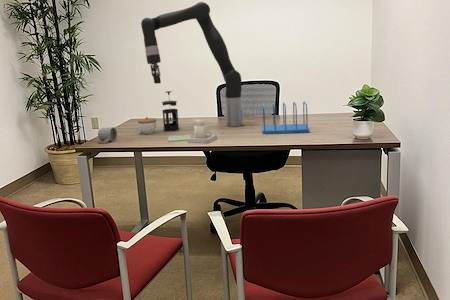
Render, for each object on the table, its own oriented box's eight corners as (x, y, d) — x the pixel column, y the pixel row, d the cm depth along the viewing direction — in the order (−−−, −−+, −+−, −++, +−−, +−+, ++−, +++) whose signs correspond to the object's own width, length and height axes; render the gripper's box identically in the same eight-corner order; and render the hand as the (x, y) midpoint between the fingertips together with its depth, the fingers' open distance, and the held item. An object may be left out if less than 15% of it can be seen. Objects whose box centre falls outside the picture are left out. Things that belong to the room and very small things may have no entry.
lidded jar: (148, 130, 270) (147, 115, 268) (160, 132, 264) (159, 116, 261) (134, 133, 262) (133, 117, 260) (147, 135, 256) (145, 119, 253)
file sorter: (305, 127, 259) (305, 100, 255) (309, 133, 242) (309, 104, 239) (262, 128, 261) (261, 102, 257) (262, 134, 244) (262, 106, 240)
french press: (174, 131, 262) (172, 92, 257) (160, 131, 265) (157, 92, 260) (182, 127, 273) (180, 90, 268) (168, 127, 276) (166, 90, 271)
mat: (190, 135, 249) (190, 134, 249) (191, 140, 237) (190, 139, 237) (168, 137, 248) (168, 136, 248) (168, 141, 236) (168, 140, 236)
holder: (188, 142, 233) (187, 138, 232) (197, 137, 243) (197, 134, 242) (207, 143, 228) (207, 139, 228) (216, 138, 238) (216, 134, 238)
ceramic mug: (104, 139, 250) (103, 125, 248) (118, 139, 248) (116, 125, 246) (94, 144, 240) (93, 130, 238) (108, 144, 238) (106, 130, 236)
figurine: (192, 141, 235) (191, 120, 232) (197, 138, 240) (196, 118, 237) (206, 142, 232) (205, 121, 229) (211, 139, 237) (210, 119, 234)
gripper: (157, 52, 246) (162, 82, 248) (161, 54, 260) (166, 82, 263) (143, 54, 247) (149, 84, 249) (148, 56, 261) (153, 84, 263)
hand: (157, 83), depth 256 cm, fingers open, 8 cm apart
